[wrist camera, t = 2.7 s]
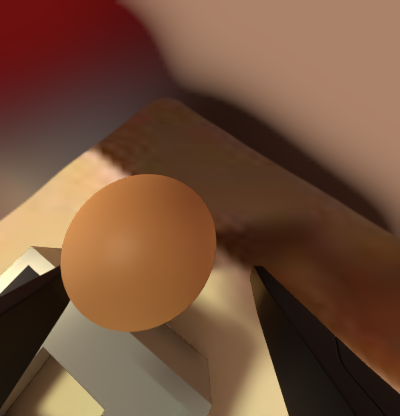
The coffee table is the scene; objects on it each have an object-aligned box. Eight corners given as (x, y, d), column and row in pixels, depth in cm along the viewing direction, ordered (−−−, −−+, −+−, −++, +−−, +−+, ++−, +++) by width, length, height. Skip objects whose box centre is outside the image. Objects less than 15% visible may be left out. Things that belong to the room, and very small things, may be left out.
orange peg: (208, 249, 16) (243, 220, 4) (187, 283, 15) (151, 377, 3) (178, 229, 17) (134, 153, 5) (156, 260, 16) (25, 262, 4)
